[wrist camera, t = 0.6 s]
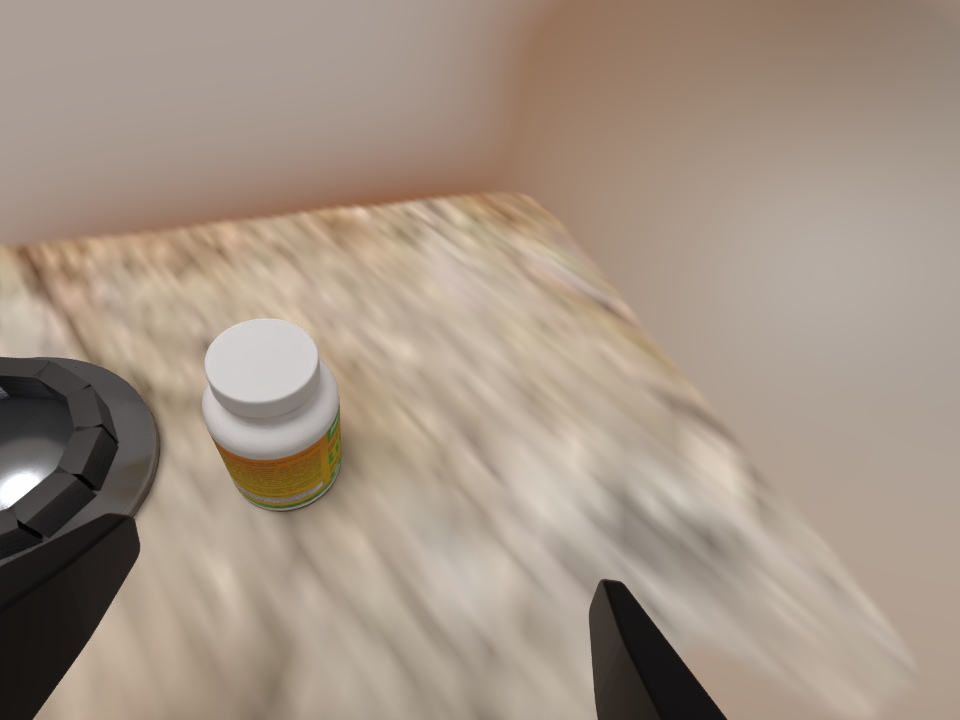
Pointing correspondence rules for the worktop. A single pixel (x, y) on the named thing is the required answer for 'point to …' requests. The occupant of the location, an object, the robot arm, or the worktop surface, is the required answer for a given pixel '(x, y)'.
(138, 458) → the collar holder
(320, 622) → the worktop surface
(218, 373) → the supplement bottle
